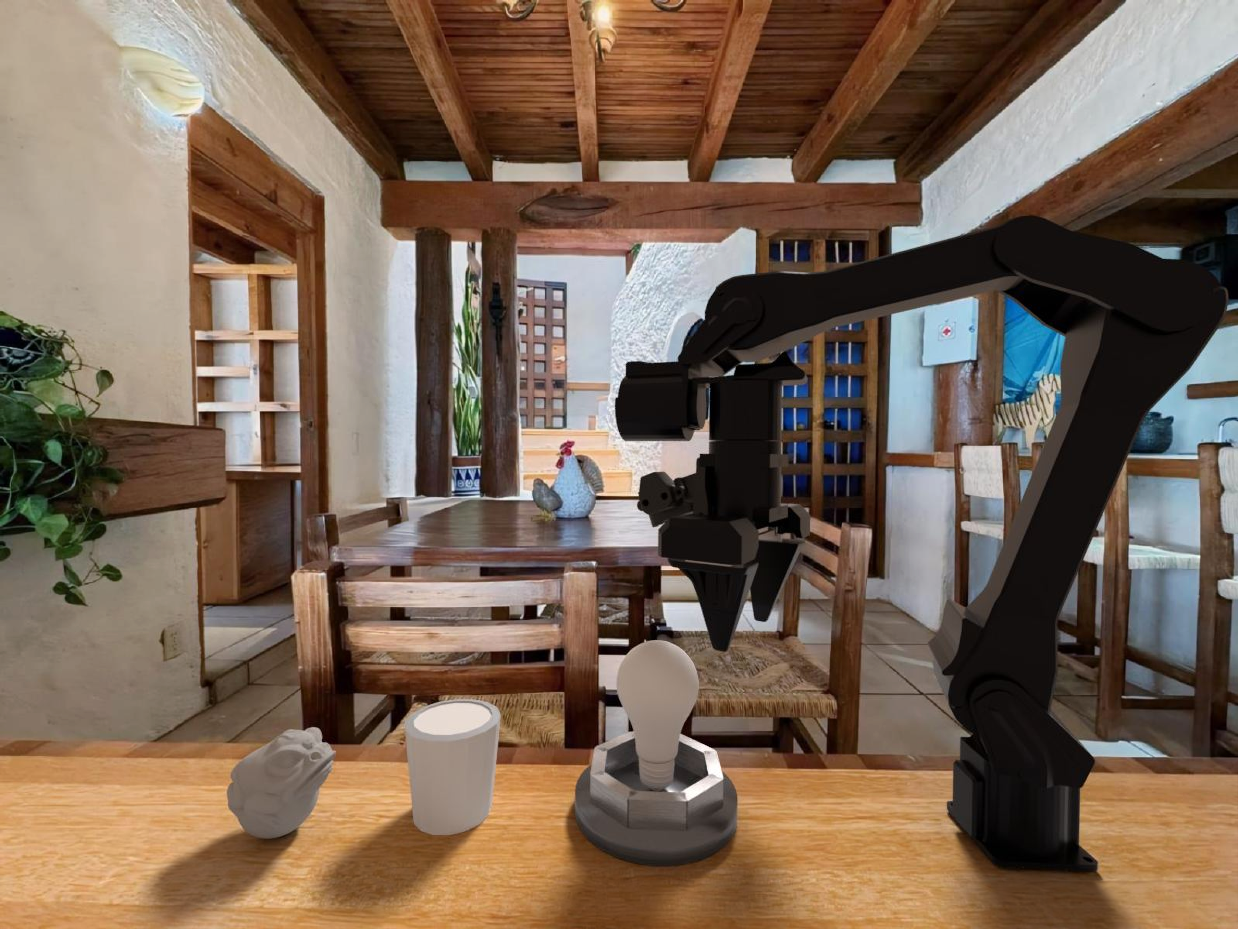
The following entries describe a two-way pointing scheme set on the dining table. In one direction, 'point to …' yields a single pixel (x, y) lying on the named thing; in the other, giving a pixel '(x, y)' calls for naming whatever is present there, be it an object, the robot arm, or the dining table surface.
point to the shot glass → (452, 764)
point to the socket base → (656, 805)
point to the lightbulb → (657, 705)
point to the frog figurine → (280, 783)
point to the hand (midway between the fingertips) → (742, 634)
